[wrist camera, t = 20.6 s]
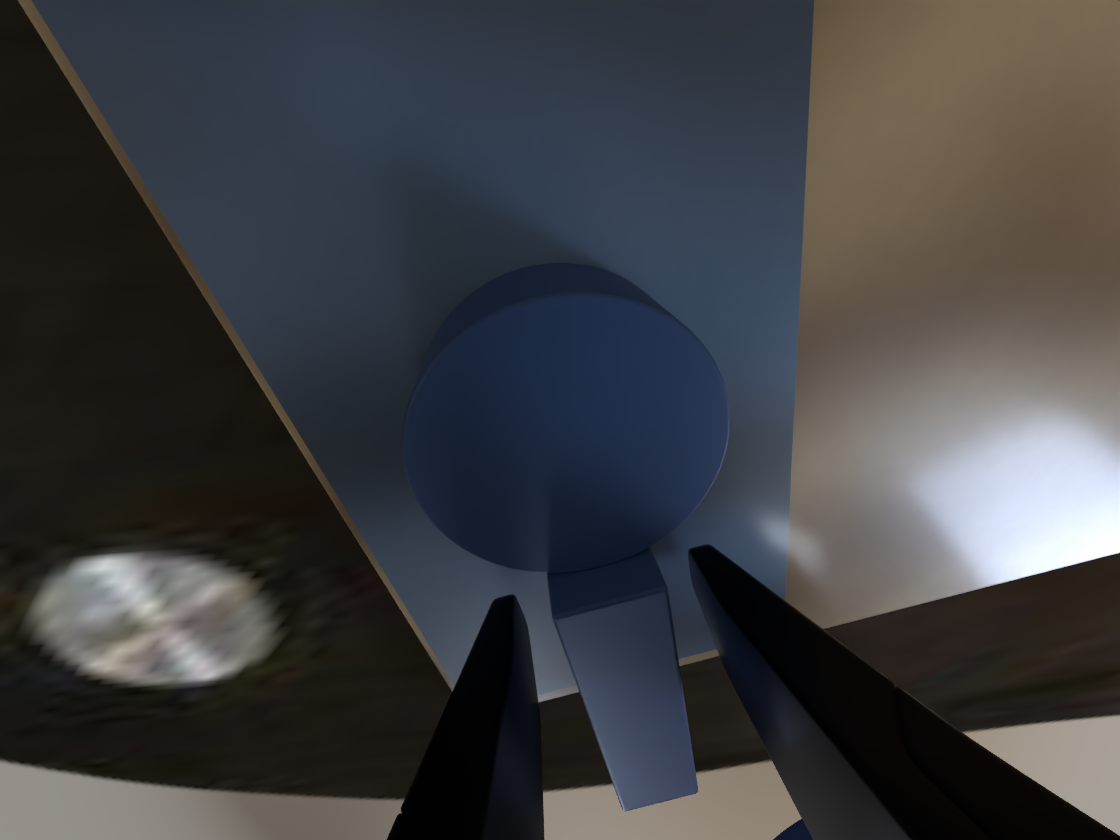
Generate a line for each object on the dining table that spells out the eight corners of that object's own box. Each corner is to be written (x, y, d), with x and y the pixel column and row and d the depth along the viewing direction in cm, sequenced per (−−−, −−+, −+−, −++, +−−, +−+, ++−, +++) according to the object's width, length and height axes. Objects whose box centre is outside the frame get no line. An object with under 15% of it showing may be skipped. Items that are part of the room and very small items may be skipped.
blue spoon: (711, 674, 11) (756, 778, 9) (553, 714, 11) (565, 828, 9) (672, 227, 6) (756, 257, 4) (375, 305, 6) (316, 371, 4)
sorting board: (1451, 435, 12) (1521, 455, 11) (471, 688, 12) (468, 725, 11) (2512, -698, 5) (2921, -874, 4) (40, -48, 5) (-53, -93, 4)
